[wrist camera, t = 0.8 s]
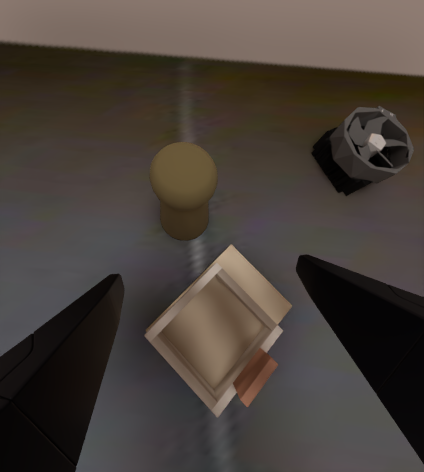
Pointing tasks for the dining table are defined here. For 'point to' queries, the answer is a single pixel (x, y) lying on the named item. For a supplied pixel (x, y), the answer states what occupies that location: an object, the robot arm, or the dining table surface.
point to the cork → (183, 188)
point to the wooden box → (222, 331)
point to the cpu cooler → (364, 149)
